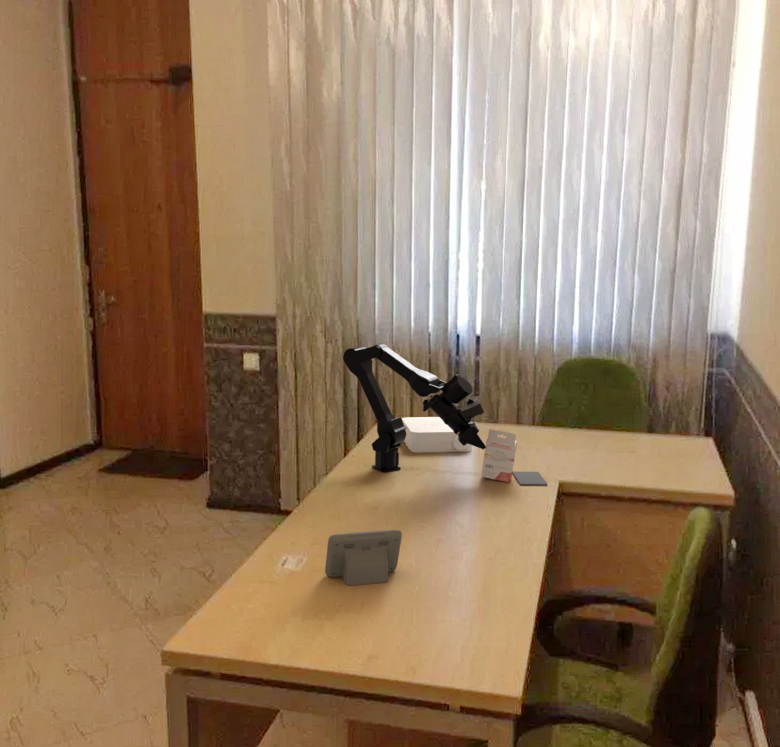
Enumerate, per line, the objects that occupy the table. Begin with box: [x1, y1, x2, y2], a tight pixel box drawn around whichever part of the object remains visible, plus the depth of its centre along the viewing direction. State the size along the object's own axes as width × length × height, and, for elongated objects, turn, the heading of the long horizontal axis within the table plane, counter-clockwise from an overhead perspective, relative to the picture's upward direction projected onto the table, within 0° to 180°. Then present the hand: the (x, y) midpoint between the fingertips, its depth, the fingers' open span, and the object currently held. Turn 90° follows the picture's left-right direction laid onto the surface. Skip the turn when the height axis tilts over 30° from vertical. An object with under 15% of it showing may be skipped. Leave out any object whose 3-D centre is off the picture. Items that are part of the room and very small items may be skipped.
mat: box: [512, 470, 548, 486], centre depth 260 cm, size 8×12×1 cm, turn 3°
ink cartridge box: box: [481, 428, 518, 483], centre depth 258 cm, size 9×5×15 cm, turn 73°
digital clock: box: [324, 528, 403, 587], centre depth 188 cm, size 16×9×11 cm, turn 94°
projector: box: [401, 416, 474, 453], centre depth 296 cm, size 21×22×7 cm
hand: (484, 448), depth 257 cm, fingers closed
